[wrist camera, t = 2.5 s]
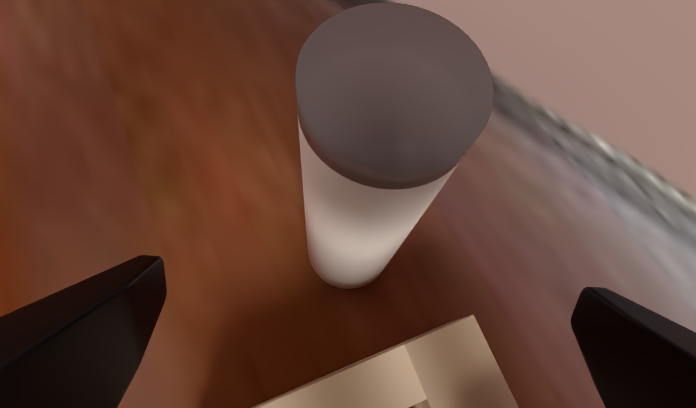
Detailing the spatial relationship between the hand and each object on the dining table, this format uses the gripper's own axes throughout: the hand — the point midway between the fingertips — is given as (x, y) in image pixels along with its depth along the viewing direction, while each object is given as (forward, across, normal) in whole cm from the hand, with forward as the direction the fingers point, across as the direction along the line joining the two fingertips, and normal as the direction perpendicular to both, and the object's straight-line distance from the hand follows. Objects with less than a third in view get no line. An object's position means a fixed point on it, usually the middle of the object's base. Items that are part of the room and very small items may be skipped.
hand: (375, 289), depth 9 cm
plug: (+10, 0, +5) cm, 12 cm away
